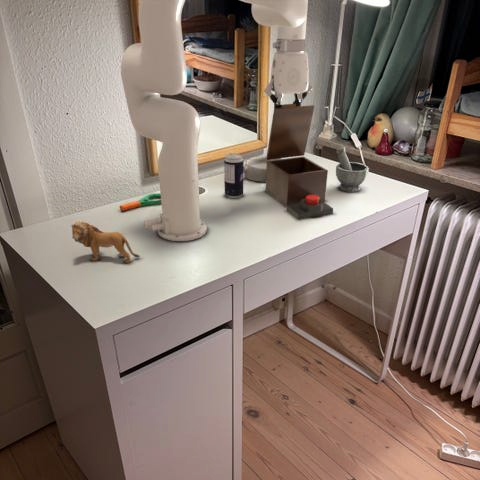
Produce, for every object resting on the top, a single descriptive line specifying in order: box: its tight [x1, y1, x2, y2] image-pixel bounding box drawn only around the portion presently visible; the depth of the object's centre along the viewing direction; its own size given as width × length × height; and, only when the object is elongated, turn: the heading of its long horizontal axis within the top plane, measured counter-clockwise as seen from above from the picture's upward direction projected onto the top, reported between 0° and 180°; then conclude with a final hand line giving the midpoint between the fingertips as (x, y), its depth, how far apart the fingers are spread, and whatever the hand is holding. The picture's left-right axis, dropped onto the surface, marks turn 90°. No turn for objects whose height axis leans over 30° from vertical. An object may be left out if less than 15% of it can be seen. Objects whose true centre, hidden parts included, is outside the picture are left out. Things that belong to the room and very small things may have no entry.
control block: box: [286, 198, 334, 221], centre depth 136 cm, size 11×8×4 cm
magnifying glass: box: [119, 192, 162, 212], centre depth 141 cm, size 15×6×2 cm, turn 133°
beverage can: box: [223, 152, 245, 199], centre depth 144 cm, size 6×6×12 cm
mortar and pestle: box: [335, 146, 370, 193], centre depth 150 cm, size 11×9×12 cm
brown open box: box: [265, 155, 329, 208], centre depth 145 cm, size 15×13×9 cm
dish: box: [244, 155, 283, 183], centre depth 161 cm, size 14×14×5 cm
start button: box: [306, 195, 319, 205], centre depth 134 cm, size 4×4×2 cm
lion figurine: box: [70, 221, 140, 264], centre depth 112 cm, size 15×5×9 cm, turn 90°
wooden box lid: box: [266, 103, 316, 160], centre depth 143 cm, size 15×13×5 cm
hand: (286, 117), depth 142 cm, fingers closed on wooden box lid, 5 cm apart
